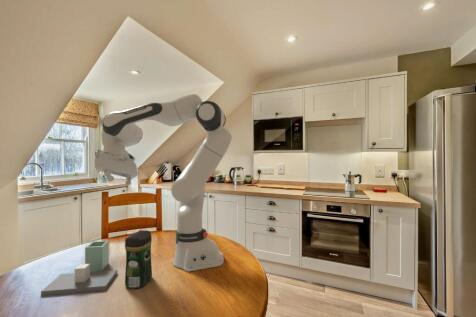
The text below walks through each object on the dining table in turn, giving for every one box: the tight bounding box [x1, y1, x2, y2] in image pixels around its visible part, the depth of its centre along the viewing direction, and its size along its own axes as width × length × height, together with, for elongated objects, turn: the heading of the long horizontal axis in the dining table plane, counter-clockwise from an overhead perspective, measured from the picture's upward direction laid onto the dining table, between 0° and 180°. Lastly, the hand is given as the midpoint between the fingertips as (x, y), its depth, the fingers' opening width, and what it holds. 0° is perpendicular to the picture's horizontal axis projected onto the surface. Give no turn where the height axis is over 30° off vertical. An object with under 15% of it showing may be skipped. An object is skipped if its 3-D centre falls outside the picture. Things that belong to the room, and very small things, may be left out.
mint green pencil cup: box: [84, 240, 110, 272], centre depth 93 cm, size 6×6×10 cm
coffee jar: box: [124, 229, 153, 290], centre depth 83 cm, size 10×8×19 cm
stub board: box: [40, 263, 118, 296], centre depth 82 cm, size 20×11×6 cm, turn 100°
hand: (120, 183), depth 95 cm, fingers open, 8 cm apart
